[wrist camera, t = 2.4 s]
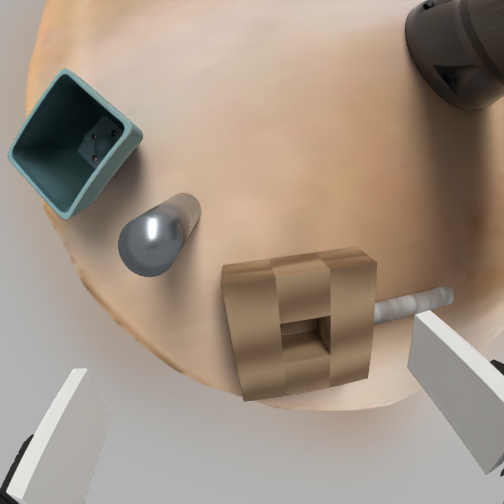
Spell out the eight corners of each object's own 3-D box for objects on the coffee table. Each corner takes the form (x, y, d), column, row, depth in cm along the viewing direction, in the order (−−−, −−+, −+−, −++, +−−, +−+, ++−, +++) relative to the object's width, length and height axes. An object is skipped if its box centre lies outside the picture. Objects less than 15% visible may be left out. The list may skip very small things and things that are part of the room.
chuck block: (223, 265, 30) (221, 284, 25) (442, 234, 31) (467, 245, 26) (242, 373, 34) (243, 401, 29) (430, 332, 35) (449, 351, 30)
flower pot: (106, 87, 24) (63, 64, 15) (164, 137, 26) (135, 126, 17) (57, 154, 25) (4, 156, 17) (109, 205, 27) (65, 224, 19)
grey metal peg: (163, 196, 28) (112, 222, 15) (198, 190, 28) (169, 212, 15) (169, 230, 29) (126, 280, 16) (203, 225, 29) (181, 273, 16)
